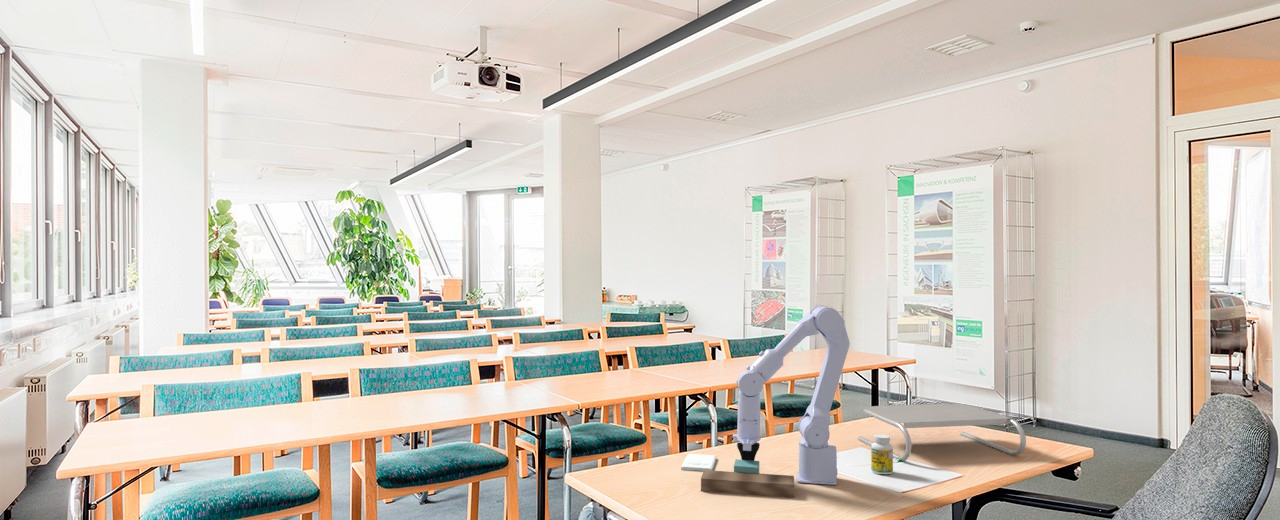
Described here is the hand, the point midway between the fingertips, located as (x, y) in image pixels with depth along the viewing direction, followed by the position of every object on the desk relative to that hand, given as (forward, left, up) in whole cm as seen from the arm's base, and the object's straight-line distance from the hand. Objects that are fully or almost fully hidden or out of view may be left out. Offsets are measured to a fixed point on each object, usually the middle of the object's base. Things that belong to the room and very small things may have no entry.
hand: (747, 471), depth 181 cm
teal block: (0, +3, -1) cm, 3 cm away
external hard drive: (+14, -9, -2) cm, 17 cm away
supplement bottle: (-34, -12, -2) cm, 37 cm away
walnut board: (0, +9, -2) cm, 9 cm away
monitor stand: (-54, -40, -2) cm, 67 cm away
